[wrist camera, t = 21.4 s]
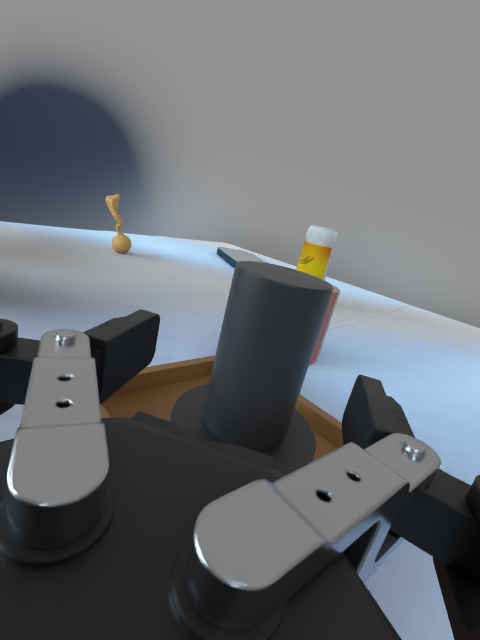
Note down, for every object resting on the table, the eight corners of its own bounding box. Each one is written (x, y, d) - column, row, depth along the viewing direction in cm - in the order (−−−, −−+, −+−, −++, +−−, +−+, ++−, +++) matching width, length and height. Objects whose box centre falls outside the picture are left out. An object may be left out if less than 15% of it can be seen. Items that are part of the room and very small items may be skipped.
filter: (139, 424, 23) (167, 246, 19) (242, 395, 30) (278, 257, 26) (228, 538, 17) (295, 306, 13) (335, 469, 23) (400, 301, 20)
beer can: (290, 292, 76) (309, 224, 71) (317, 300, 75) (338, 231, 71) (287, 298, 70) (308, 224, 66) (317, 306, 70) (340, 231, 65)
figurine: (130, 258, 73) (137, 199, 69) (99, 253, 71) (105, 192, 67) (129, 250, 80) (136, 197, 76) (101, 246, 78) (107, 190, 74)
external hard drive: (213, 252, 106) (215, 245, 106) (248, 258, 110) (249, 252, 110) (237, 271, 86) (238, 263, 85) (278, 278, 90) (280, 270, 89)
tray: (69, 405, 24) (71, 379, 24) (232, 370, 35) (237, 351, 34) (242, 692, 12) (256, 654, 11) (412, 503, 23) (424, 478, 22)
